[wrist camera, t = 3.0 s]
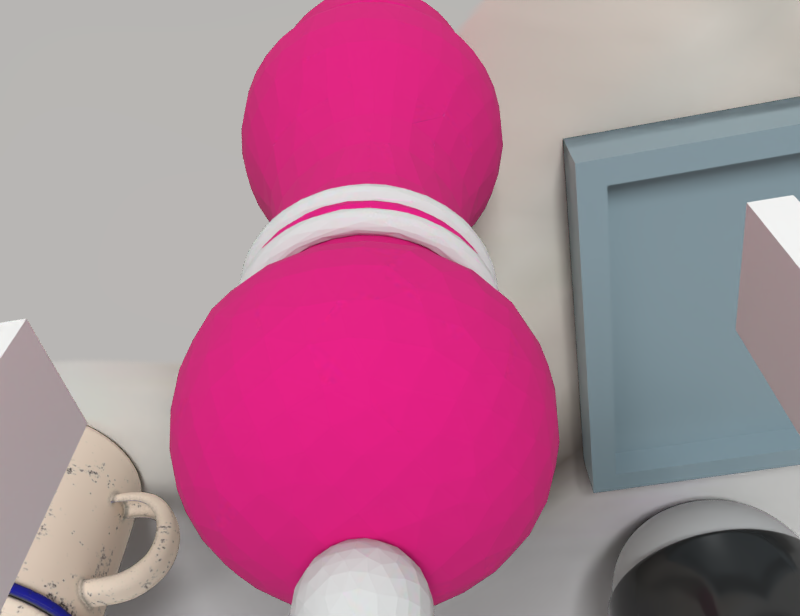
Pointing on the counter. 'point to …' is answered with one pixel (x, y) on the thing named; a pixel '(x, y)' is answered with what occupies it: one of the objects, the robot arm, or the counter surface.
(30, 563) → the teacup with lid
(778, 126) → the tray
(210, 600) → the counter surface
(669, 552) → the black rounded piece
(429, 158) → the pepper mill
